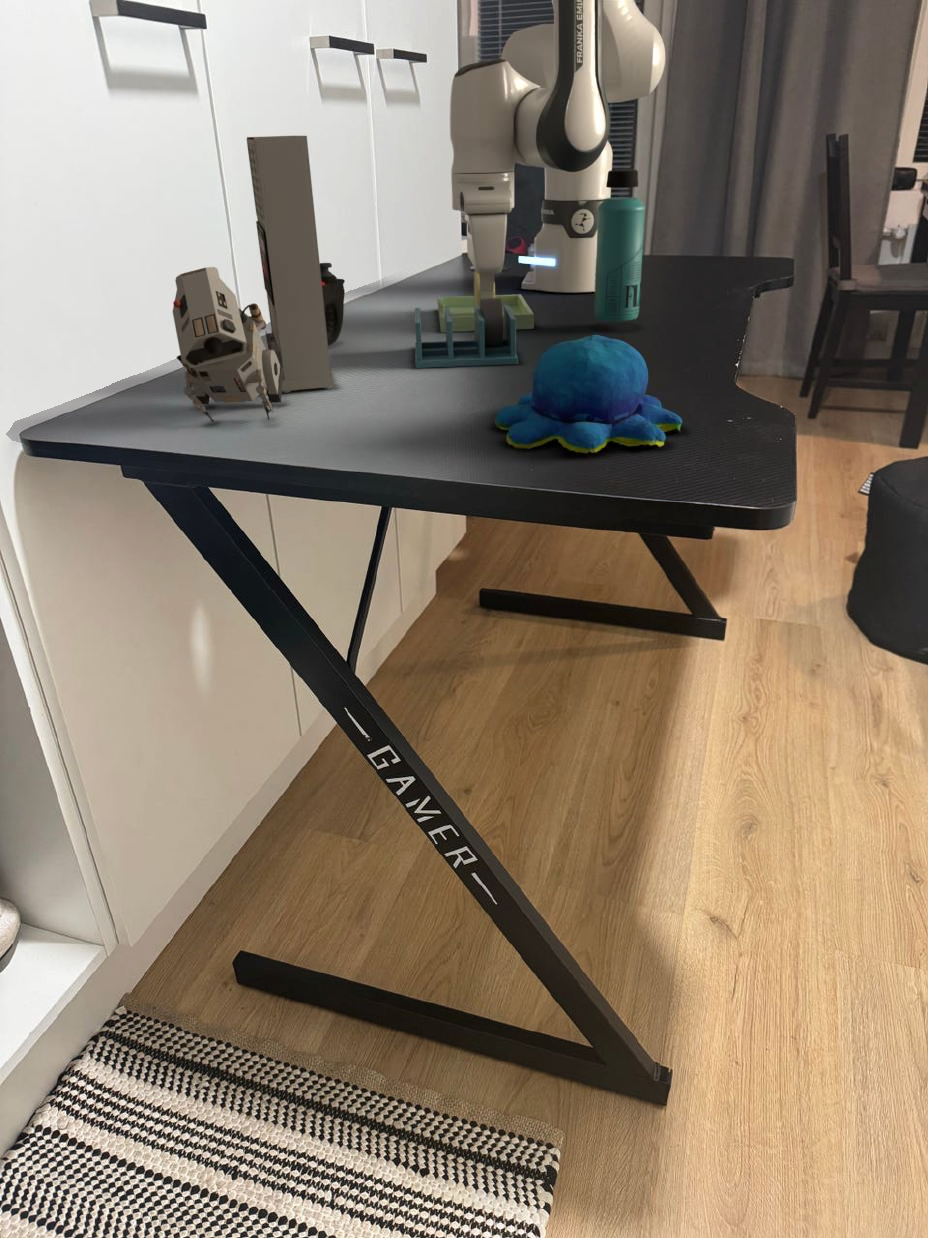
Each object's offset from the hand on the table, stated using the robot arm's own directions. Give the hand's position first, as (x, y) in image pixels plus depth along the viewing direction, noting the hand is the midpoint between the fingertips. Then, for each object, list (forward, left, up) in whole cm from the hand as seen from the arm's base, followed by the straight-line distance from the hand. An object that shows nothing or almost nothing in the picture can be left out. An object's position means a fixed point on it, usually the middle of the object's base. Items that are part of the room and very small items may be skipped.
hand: (484, 298), depth 131 cm
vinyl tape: (+24, -1, +1) cm, 24 cm away
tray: (0, 0, -3) cm, 3 cm away
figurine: (+43, -29, -3) cm, 52 cm away
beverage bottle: (+10, +18, -3) cm, 20 cm away
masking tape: (0, 0, +1) cm, 1 cm away
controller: (+15, -23, -3) cm, 28 cm away
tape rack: (+24, -4, -3) cm, 24 cm away
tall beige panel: (+31, -24, -3) cm, 40 cm away
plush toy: (+56, +6, -3) cm, 56 cm away
